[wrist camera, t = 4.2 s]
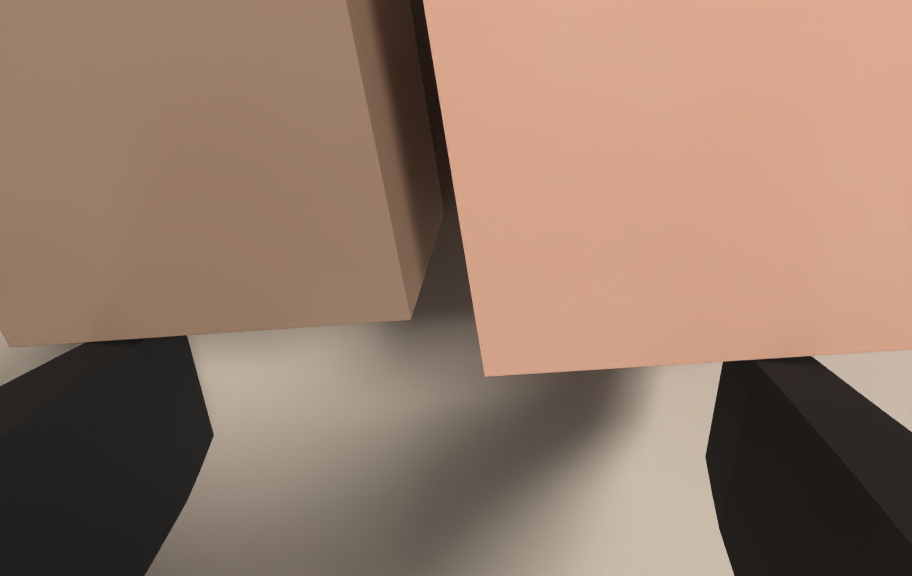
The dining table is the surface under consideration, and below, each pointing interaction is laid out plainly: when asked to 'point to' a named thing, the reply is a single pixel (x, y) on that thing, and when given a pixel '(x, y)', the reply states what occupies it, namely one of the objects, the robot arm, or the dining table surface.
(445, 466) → the dining table surface
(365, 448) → the dining table surface
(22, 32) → the wooden block
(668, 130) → the salmon pink block
